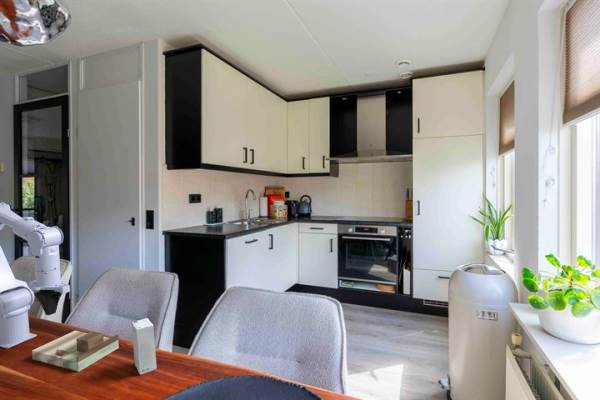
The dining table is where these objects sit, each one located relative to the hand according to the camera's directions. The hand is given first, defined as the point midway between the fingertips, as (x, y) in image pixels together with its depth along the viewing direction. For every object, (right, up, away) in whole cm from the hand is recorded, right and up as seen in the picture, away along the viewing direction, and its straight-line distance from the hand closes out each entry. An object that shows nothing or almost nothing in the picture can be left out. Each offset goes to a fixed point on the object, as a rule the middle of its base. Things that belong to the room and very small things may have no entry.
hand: (50, 313), depth 93 cm
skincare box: (+32, -11, -9) cm, 36 cm away
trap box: (+9, -11, -3) cm, 14 cm away
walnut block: (+15, -8, -4) cm, 17 cm away
